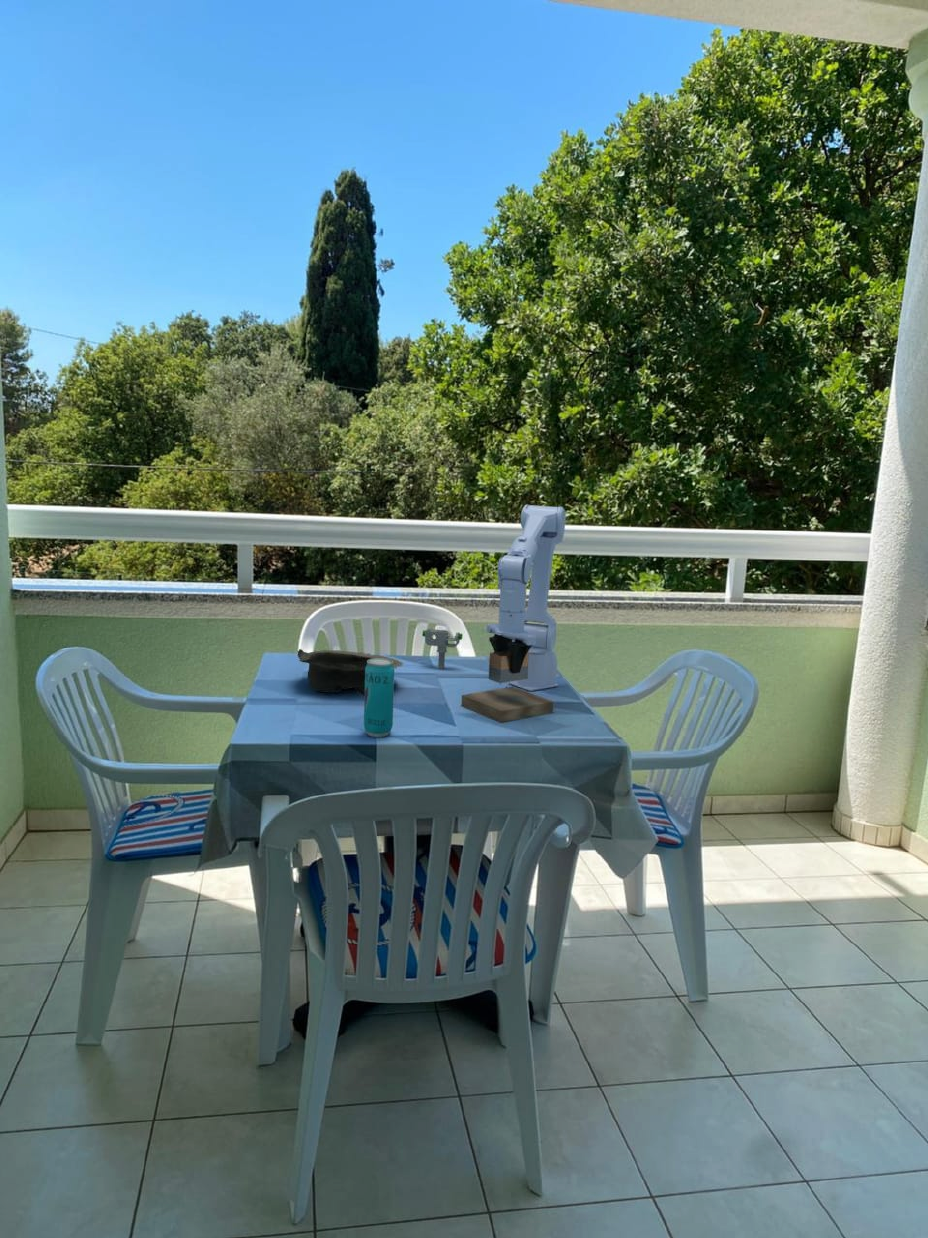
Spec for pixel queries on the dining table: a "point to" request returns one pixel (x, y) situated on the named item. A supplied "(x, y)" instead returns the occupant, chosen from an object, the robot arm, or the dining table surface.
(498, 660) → the brown rectangular block
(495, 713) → the walnut stand
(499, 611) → the robot arm
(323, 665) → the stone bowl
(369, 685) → the beverage can
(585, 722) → the dining table surface
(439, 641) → the mechanical component
